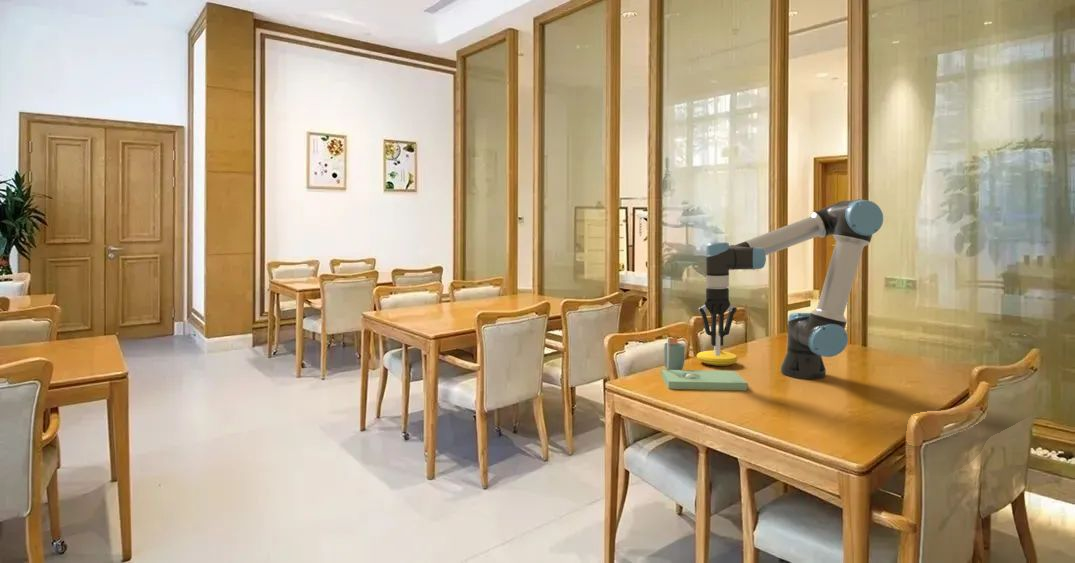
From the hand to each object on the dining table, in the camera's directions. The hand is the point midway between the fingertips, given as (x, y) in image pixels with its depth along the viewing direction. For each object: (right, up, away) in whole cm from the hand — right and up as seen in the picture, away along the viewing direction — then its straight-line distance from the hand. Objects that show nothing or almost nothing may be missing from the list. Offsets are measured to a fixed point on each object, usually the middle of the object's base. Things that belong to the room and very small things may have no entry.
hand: (717, 354), depth 209 cm
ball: (-9, -8, +1) cm, 13 cm away
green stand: (-5, -10, +1) cm, 11 cm away
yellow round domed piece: (+9, -8, +30) cm, 32 cm away
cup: (-11, -8, +19) cm, 23 cm away
